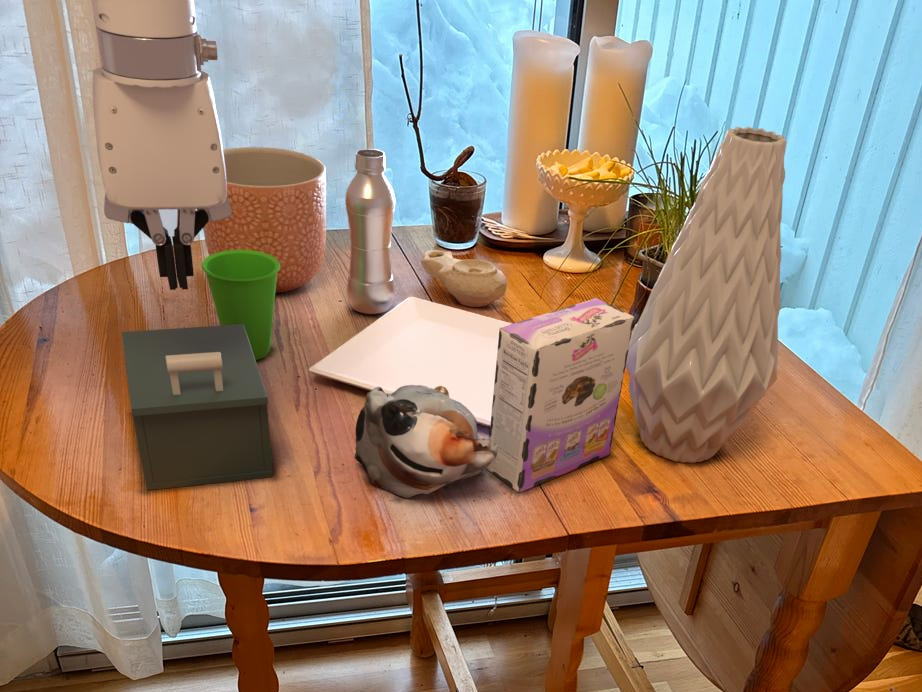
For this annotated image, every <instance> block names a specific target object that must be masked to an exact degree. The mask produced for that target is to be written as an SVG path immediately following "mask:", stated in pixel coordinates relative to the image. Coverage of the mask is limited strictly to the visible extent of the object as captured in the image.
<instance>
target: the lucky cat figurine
mask: <svg viewBox="0 0 922 692" xmlns="http://www.w3.org/2000/svg"><path fill="white" fill-rule="evenodd" d="M355 444H356V445H355V452H354V459H355V460H356V461H357V462H358V463H359V464H360V465H361V466H362V468H363V469H364V471H365V474H366V475H367V478H368V481H369V483H371V484H372V485H375V486H377V487H379V488H382V489H384V490H385V491H388V492H390V493H392V494H394V495H397V496H399V497H403V498H405V499H409V498H411V497H414V496H417V495H421V494H424V495H428V494H431V493H433V492H434V491H436V490H439V489H441V488H442V487H444V486H447V485H449V484H452V483H455V482H457V481H461V480H464V479H468V478H471V477H474V476H476V475H479V474H481V473H482V470H483V469H485V468H486V466H488V465H490V464H491V462H492V461H493V460H494V459H495V458H496V456H497V450H498V445H497V444H496V446H495V445H494V443H493V442H492V441H491V440H490V439H489V438H484V437H479V435H478V423H477V421H476V418H475V417H474V415H473V414H472V413H471V412H470V411H469V410H468V409H467V407H465V406H464V405H463V404H461V403H460V402H458V401H456V400H453V399H451V398H449V393H448V390H447V389H446V388H445V387H443V386H438V387H436V388H435V389H433V388H428V387H427V386H422V385H417V386H416V385H407V386H402V387H400V388H398V389H397V390H396V391H395V392H393V393H392V394H390V393H385V392H384V391H383V389H382V388H381V387H376V388H374V389H373V390H372V391H369V392H367V394H366V396H365V403H364V405H363V407H362V408H361V409H360V410H359V414H358V417H357V419H356V423H355Z"/></svg>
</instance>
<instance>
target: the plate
mask: <svg viewBox="0 0 922 692" xmlns="http://www.w3.org/2000/svg"><path fill="white" fill-rule="evenodd" d="M510 324H513V323H512V322H508V321H505V320H501V319H497V318H494V317H489V316H486V315H483V314H479V313H475V312H471V311H467V310H464V309H460V308H456V307H453V306H449V305H446V304H441V303H438V302H434V301H430V300H426V299H423V298H418V297H415V296H408V297H407V298H406V299H404V300H403V301H401V302H400V303H398V304H397V305H396V306H395V307H393V308H391V309H389V310H388V312H387V311H386V313H384V314H383V315H382V316H380V317H379V318H378V319H376V320H375V321H373V322H372V323H370V325H368V326H367V327H365V328H363V329H362V330H360V331H359V332H358V333H356V334H355V335H353V337H351V338H350V339H348V340H347V341H345V342H344V343H343V344H341V345H340V346H339V347H337V348H335V349H334V350H333V351H331V352H330V353H328V354H327V355H326V356H325V357H323V358H322V359H320V360H319V361H317V362H316V363H314V364H313V365H312V366H310V367H309V368H308V370H309V373H310V372H311V374H314V375H317V376H319V377H323V378H326V379H330V380H333V381H336V382H338V383H339V382H340V383H343V384H345V385H350V386H353V387H356V388H360V389H363V390H366V391H369V392H371V391H372V390H373V389H374V388H376V387H381V388H382V389H383V391H384V392H385V393H390V394H392V393H393V392H395V391H396V390H397V389H398V388H400V387H402V386H407V385H416V386H417V385H422V386H427V387H428V388H433V389H435V388H436V387H438V386H443V387H445V388H446V389H447V390H448V393H449V398H451V399H453V400H456V401H458V402H460V403H461V404H463V405H464V406H465V407H467V409H468V410H469V411H470V412H471V413H472V414H473V415H474V417H475V418H476V421H477V424H479V425H482V426H485V427H489V428H490V425H491V416H492V415H491V414H492V404H493V395H494V383H495V372H496V362H497V352H498V341H499V329H500V327H503V326H506V325H510Z"/></svg>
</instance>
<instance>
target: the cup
mask: <svg viewBox="0 0 922 692" xmlns="http://www.w3.org/2000/svg"><path fill="white" fill-rule="evenodd" d="M201 269H202V271H203V272H204V273H205V275H206V278H207V282H208V285H209V289H210V293H211V296H212V299H213V305H214V308H215V311H216V314H217V318H218V322H219V326H221V325H237V324H244V327H245V330H246V333H247V336H248V339H249V342H250V345H251V348H252V351H253V354H254V357H255V360H256V361H257V360H258V361H259V360H262V359H264V358H266V357H267V356H268V355H269V352H270V350H271V346H272V345H271V344H272V336H273V335H272V333H273V323H274V313H275V312H274V311H275V303H276V302H275V300H276V293H275V290H276V279H277V272H278V271H279V269H280V263H279V262H278V260H277V259H276V258H274V257H273V256H271V255H269V254H266V253H263V252H259V251H252V250H228V251H222V252H218V253H214V254H212V255H209V254H208V256H206V257H205V258H204V259H203V260H202V262H201Z"/></svg>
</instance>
